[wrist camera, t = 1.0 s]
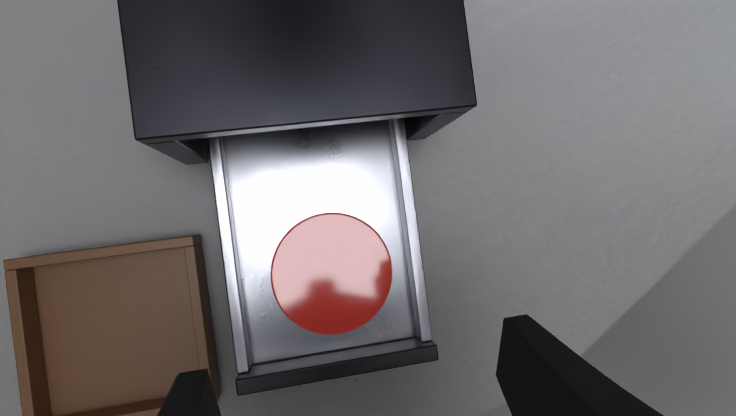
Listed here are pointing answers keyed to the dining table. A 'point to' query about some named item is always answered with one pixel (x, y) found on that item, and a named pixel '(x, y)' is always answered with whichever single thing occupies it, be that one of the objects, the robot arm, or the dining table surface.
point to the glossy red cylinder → (331, 273)
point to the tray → (109, 326)
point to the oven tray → (296, 202)
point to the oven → (291, 67)
